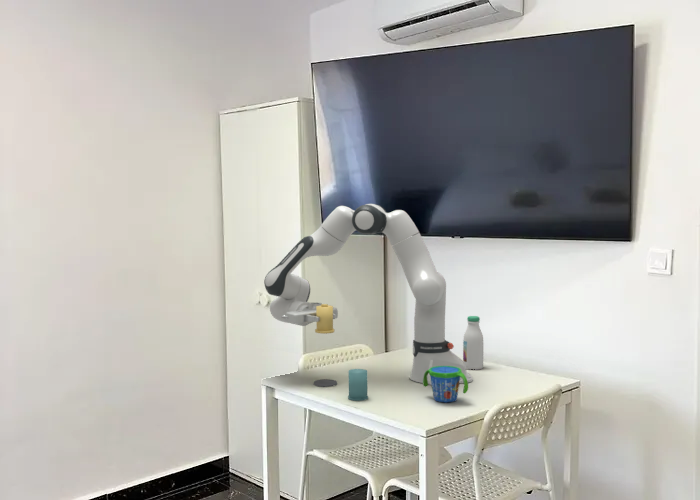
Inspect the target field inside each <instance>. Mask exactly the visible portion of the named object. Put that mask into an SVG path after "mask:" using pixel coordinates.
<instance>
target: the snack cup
mask: <svg viewBox="0 0 700 500" xmlns="http://www.w3.org/2000/svg"><path fill="white" fill-rule="evenodd" d="M428 373H429V374H430V377H431V384H432V385H431V389H432V396H433V399H434V401H436V402H439V403H452V402H456V401H457V399H458V396H459V395H458V394H459V387H460V383H459V381H460V377H461V378H462V379H463V382H464V383H463V391H462V394H466V393H467V392H468V390H469V384H468V383H469V382H467V379H466V376H465V375H464V374H463V373H462V372H461V369H460V368H458V367H454V366H435V367H431V368H430V369H429V370H427V371H426V372H425V374H424V378H423V383H422V384H423V387H428V386H429V384H428V381H427V375H428Z"/></svg>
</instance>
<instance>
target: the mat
mask: <svg viewBox="0 0 700 500" xmlns="http://www.w3.org/2000/svg"><path fill="white" fill-rule="evenodd" d="M313 385H314V386H315V387H319V388H320V387H321V388H330V387H335V386H337V385H338V381H337V380H335V379H330V378H321V379H316V380H314V381H313Z"/></svg>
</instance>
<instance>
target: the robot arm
mask: <svg viewBox="0 0 700 500" xmlns="http://www.w3.org/2000/svg"><path fill="white" fill-rule="evenodd" d="M356 231H357V232H358V233H360V234H362V235H375V234H381V233H382V234H384V235H385V236H386V237H387V239H388V240H389V243H390V245H391V247H392V249H393V252H394V253H395V255H396V258H397V259H398V261H399V264H400V265H401V267H402V270H403V273H404V276H405V278H406V280H407V283H408V285H409V288H410V290H411V293H412V294H413V296H414V299H415V307H414V318H413V319H414V321H413V324H414V325H413V328H414V330H413V334H414V335H413V336H414V337H413V338H414V339H413V340H412V355H413V359H412V360H413V362H412V367H411V372H410V376H409V379H410V380H411V381H413V382H417V383H422V384H423V378H424V374H425V372H426V371H427V370H429V369H430V368H431V367H435V366H454V367H458V368H460V369H461V372H462V373H463V374H464V375H465V376H466V379H467V382H468V383H471V382H473V376H472V374H471V373H469V372H467V369H466V367H465V364H464V362H463V359H461V358H460V357H459V356H458V355H457V354H455V353H454V352H452V351H451V350H452V349H453V350H454V347H455V346H454V344H453V343H452V342H450V341H448V340H446V303H447V281H446V279H445V277H444V275H442V274H441V273H440V272H439V271H437V269H436V266H435V263H434V262H433V259H432V257H431V254H430V251H429V249H428V247H427V245H426V242H425V241H424V239H423V237H422V235H421V233H420V231H419V229H418V227H417V226H416V224H415V222H414V221H413V219H412V218H411V217H410V215H409V214H408V213H407V212H406V211H405V210H402V209H395V210H393V211H391V212H387V210H386V209H385V208H384V207H383V206H382V205H379V204H376V203H366V204H363V205H360V206H357V208H356V209H355V210H354V209H352V208H350V207H348V206H346V205H339V206H337V207H335V209H334V210H333V211H331V213H329V215H328V216H327V217H326V218H325V219H324V220H323V222H322V224H320V226H319V227H318V228H317V229H316V230H315V231H314V232H313V233H312V234H310V235H308V236H305V237H303V238H302V239H300V240H299V242H297V243H296V245H294V246H293V248H291V250H289V252H288V253H287V254H286V256H284V257H283V258H282V260H281V261H280V262H279V263H278V264H277V265H276V266H274V267H273V268H272V269H271V270H270V271H268V273H267V274H266V275H265V278H264V279H263V280H264V282H263V283H264V287H265V288H264V289H265V291H266V292H267V294H269V295H271V296H275V297H276V299H274V300H272V301H271V302H270V304H269V311H270V314H271V317H273V318H274V319H275V320H277V321H280V322H283V323H286V324H292V325H295V326H296V325H297V326H301V327H306V326H309V324H310V325H311V324H313V323H314V322H315V323H317V322H319V321H320V317H319V316H316V306H320V305H321V304H323V303H322V302H309V299H310V295H311V285H310V283H309V281H308V280H307V279H306V278H303V277H301V276H299V275H297V274H293V273H292V272H293V271H294V270H295V269H296V268H297V267H298V266H299V265H300V264H301V263H302V262H303V261H304V260H305V259H307V258H310V257H316V256H317V257H318V256H319V257H320V256H322V257H326V256H327V257H328V256H333V255H335V254H337V253H338V252H340V250H341V249H342V248H343V247H344V245H345V244H346V242H347V241H348V240H349V238H350V236H351V235H352V234H353V233H354V232H356ZM338 312H339V311H338V308H337V307H334V306H333V320H336V319H337V318H338V316H339V313H338ZM427 381H428V385H431V386H432V384H431V377H430V374H429V373H428V375H427ZM459 384H464V382H463V379H462V378H461V377H460V381H459Z"/></svg>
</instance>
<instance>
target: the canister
mask: <svg viewBox="0 0 700 500" xmlns="http://www.w3.org/2000/svg"><path fill="white" fill-rule="evenodd" d="M347 398H348V400H349V401H355V402H360V401H361V402H363V401H367V400H368V399H369V395H368V370H367V369H364V368H353V369H349V370H348V396H347Z"/></svg>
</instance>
